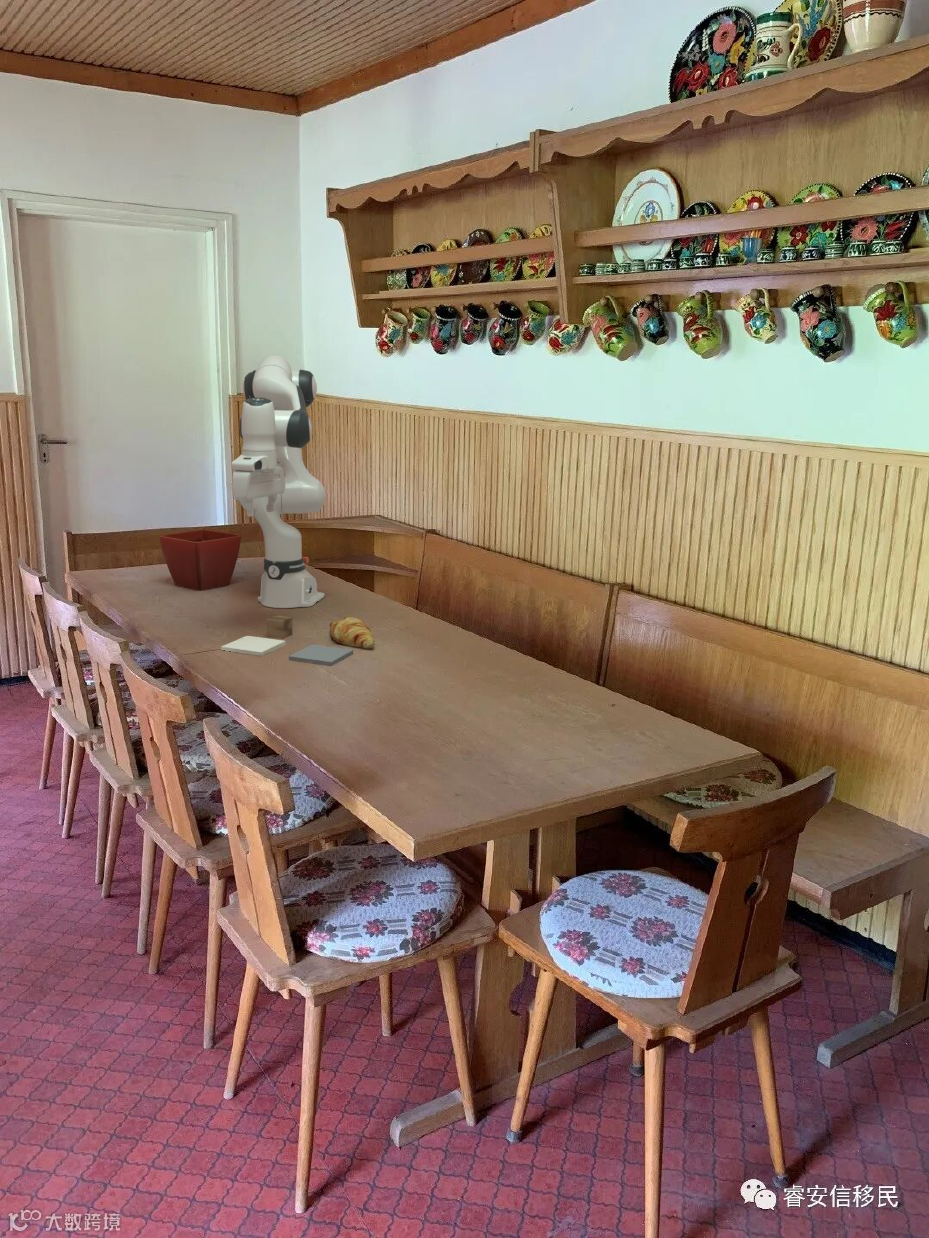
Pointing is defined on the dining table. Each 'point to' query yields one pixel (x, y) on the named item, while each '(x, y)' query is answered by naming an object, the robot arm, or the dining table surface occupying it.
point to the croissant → (352, 633)
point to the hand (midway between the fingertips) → (260, 513)
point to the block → (279, 627)
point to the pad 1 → (253, 645)
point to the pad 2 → (321, 655)
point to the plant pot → (201, 558)
